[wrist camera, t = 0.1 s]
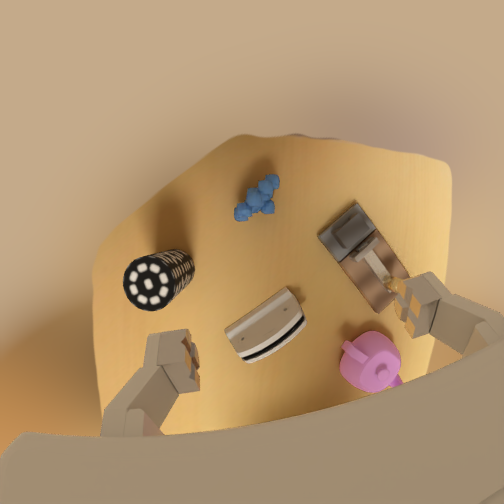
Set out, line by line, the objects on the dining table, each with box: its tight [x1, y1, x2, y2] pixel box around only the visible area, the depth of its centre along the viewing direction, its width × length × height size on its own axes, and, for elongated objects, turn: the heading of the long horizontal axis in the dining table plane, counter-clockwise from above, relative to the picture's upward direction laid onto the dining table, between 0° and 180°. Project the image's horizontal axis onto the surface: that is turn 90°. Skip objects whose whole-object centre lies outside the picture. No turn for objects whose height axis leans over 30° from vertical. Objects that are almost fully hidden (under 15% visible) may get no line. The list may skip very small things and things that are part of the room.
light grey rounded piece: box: [225, 287, 307, 363], centre depth 63 cm, size 17×5×10 cm, turn 126°
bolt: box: [355, 242, 403, 293], centre depth 61 cm, size 12×3×7 cm, turn 40°
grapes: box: [234, 174, 280, 221], centre depth 59 cm, size 12×7×12 cm, turn 137°
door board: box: [317, 204, 410, 314], centre depth 64 cm, size 22×11×5 cm, turn 40°
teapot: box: [339, 331, 403, 393], centre depth 63 cm, size 13×20×11 cm
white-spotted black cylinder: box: [123, 249, 195, 311], centre depth 55 cm, size 8×8×20 cm
